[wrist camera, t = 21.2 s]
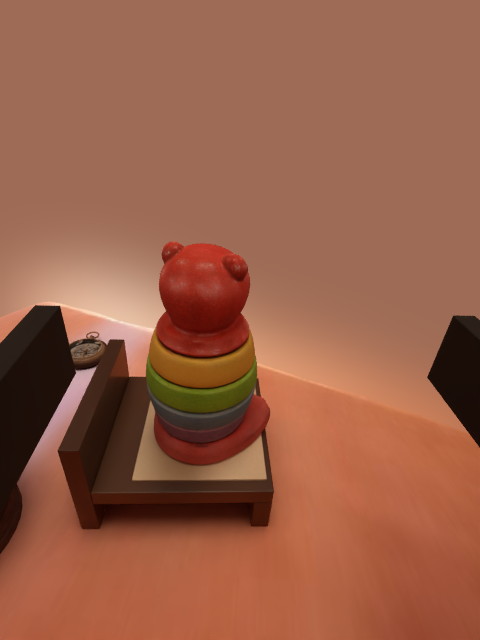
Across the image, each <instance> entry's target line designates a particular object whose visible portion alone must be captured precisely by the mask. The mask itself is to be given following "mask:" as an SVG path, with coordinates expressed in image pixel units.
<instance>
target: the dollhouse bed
mask: <svg viewBox="0 0 480 640" xmlns="http://www.w3.org/2000/svg"><path fill="white" fill-rule="evenodd" d="M254 394H255V395H257V396H259V397H261V395H260V388H259V381H258V378H257V379H256V386H255V390H254ZM154 417H155V410H154V407H153V405H152V402H151V399H150V396H149V392H148V388H147V380H146V377H129V372H128V364H127V357H126V350H125V342H124V340H111V339H110V340H109V342H108V345H107V347H106V349H105V351H104V353H103V355H102V357H101V360H100V362H99V364H98V366H97V368H96V370H95V372H94V374H93V377H92V379H91V381H90V383H89V385H88V387H87V389H86V392H85V394H84V396H83V398H82V400H81V402H80V404H79V406H78V409H77V411H76V413H75V415H74V417H73V419H72V421H71V424H70V426H69V428H68V430H67V432H66V434H65V436H64V438H63V441H62V443H61V445H60V447H59V449H58V453H59V457H60V460H61V463H62V466H63V470H64V473H65V476H66V479H67V482H68V486H69V489H70V492H71V495H72V498H73V502H74V505H75V508H76V511H77V515H78V518H79V521H80V524H81V527H82V529H93V528H100V525H101V521H102V518H103V514H104V511H105V507H106V504H160V503H247V502H249V503H250V517H251V526H268V522H269V516H270V511H271V505H272V499H273V493H274V489H273V482H272V475H271V468H270V460H269V453H268V446H267V439H266V431H265V428H264V430H263V431H262V433H261V434H260V435H259V436H258V437H257V439H256V440H255V441H253V442H252V443H251V444H250V445H249V446H247V447H246V448H245V449H243V450H242V451H240V452H239V453H237V454H235V455H233V456H231V457H229V458H227V459H224V460H222V461H219V462H215V463H211V464H189V463H185V462H181V461H179V460H176V459H174V458H172V457H171V456H169V455H168V454H167V453H165V452H164V451H163V450H162V449H161V447H160V446H159V445H158V443H157V441H156V438H155V435H154Z"/></svg>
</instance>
